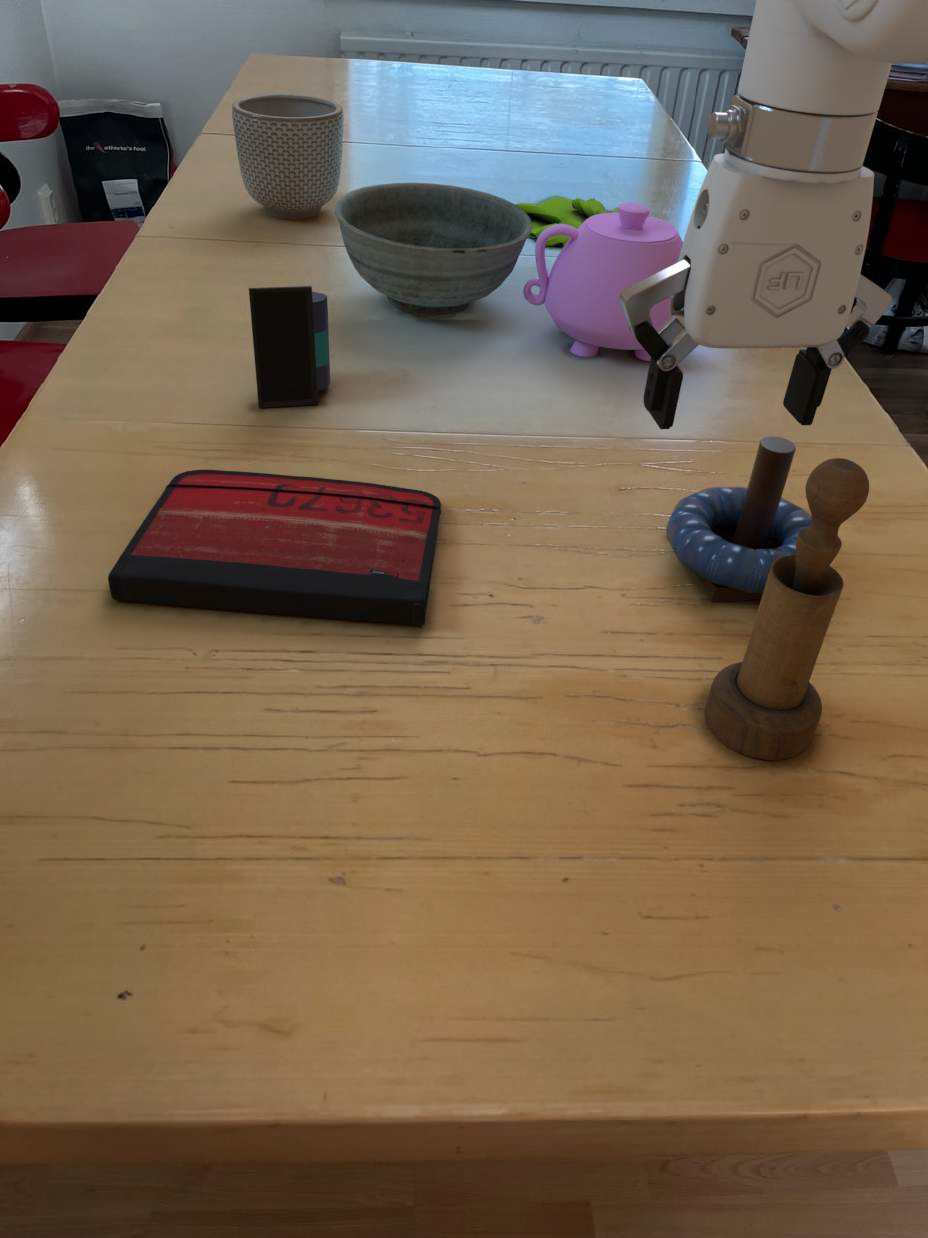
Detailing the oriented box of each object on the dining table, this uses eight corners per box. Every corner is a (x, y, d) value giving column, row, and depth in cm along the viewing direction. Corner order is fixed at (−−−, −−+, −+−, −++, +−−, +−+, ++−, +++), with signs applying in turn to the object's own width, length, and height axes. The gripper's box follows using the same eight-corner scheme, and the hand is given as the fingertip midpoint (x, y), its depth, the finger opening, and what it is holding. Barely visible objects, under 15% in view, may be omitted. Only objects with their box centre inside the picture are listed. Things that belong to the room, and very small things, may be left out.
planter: (255, 232, 126) (247, 120, 118) (227, 200, 136) (219, 94, 128) (359, 224, 131) (359, 116, 123) (325, 193, 141) (323, 91, 133)
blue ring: (845, 597, 70) (858, 562, 68) (692, 604, 68) (701, 568, 66) (782, 511, 79) (792, 477, 77) (645, 515, 77) (652, 481, 75)
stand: (816, 596, 72) (859, 472, 66) (711, 602, 71) (745, 476, 64) (771, 534, 78) (807, 415, 72) (674, 538, 77) (702, 418, 70)
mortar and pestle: (745, 672, 65) (824, 421, 54) (833, 727, 61) (938, 470, 50) (682, 717, 61) (753, 457, 50) (772, 779, 57) (870, 514, 46)
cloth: (541, 253, 126) (544, 234, 125) (473, 202, 142) (474, 184, 140) (678, 242, 133) (682, 223, 132) (599, 194, 149) (601, 177, 147)
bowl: (397, 257, 122) (399, 170, 116) (553, 295, 115) (564, 205, 109) (298, 309, 108) (294, 213, 101) (469, 357, 101) (476, 257, 94)
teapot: (712, 319, 113) (740, 191, 104) (739, 379, 100) (774, 239, 92) (517, 306, 112) (529, 176, 103) (520, 364, 100) (535, 223, 91)
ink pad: (426, 600, 65) (104, 574, 65) (424, 629, 66) (109, 603, 66) (444, 483, 78) (175, 461, 78) (442, 509, 79) (179, 488, 79)
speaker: (320, 412, 89) (313, 293, 83) (257, 408, 89) (245, 290, 84) (338, 383, 95) (333, 271, 90) (279, 380, 96) (270, 268, 90)
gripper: (671, 152, 51) (619, 449, 62) (975, 158, 54) (875, 441, 65) (628, 117, 57) (587, 394, 67) (905, 124, 60) (824, 390, 70)
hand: (728, 417), depth 66 cm, fingers open, 9 cm apart
